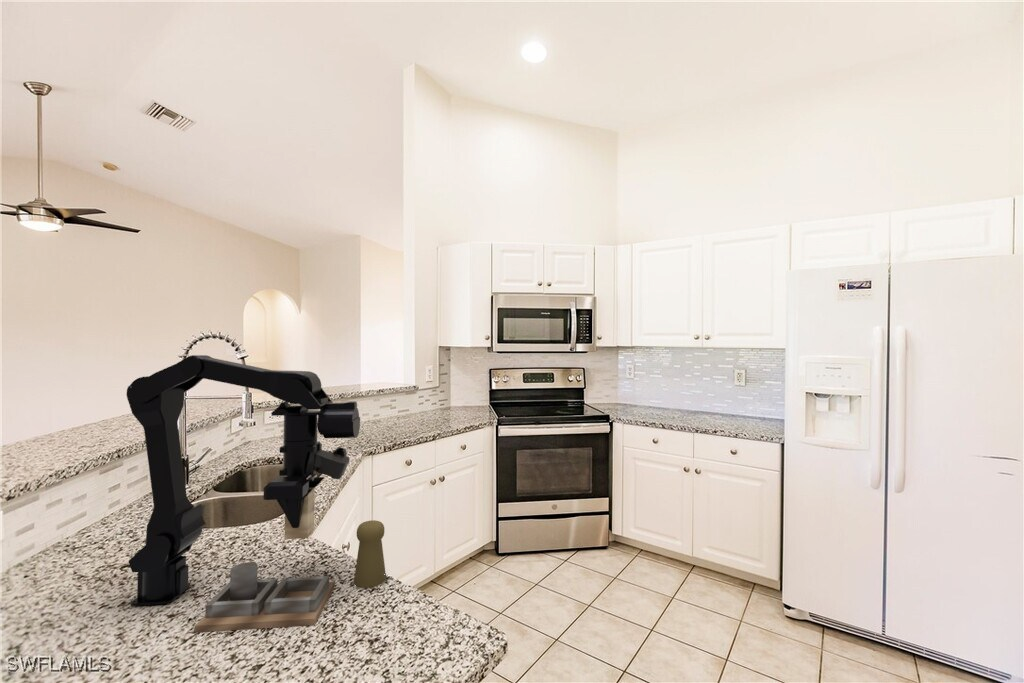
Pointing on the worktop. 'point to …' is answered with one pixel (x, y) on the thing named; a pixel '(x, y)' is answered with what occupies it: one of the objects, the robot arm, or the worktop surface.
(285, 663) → the worktop surface
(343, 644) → the worktop surface
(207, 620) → the board
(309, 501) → the maple pin
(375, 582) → the olive green peg figure
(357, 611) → the worktop surface
